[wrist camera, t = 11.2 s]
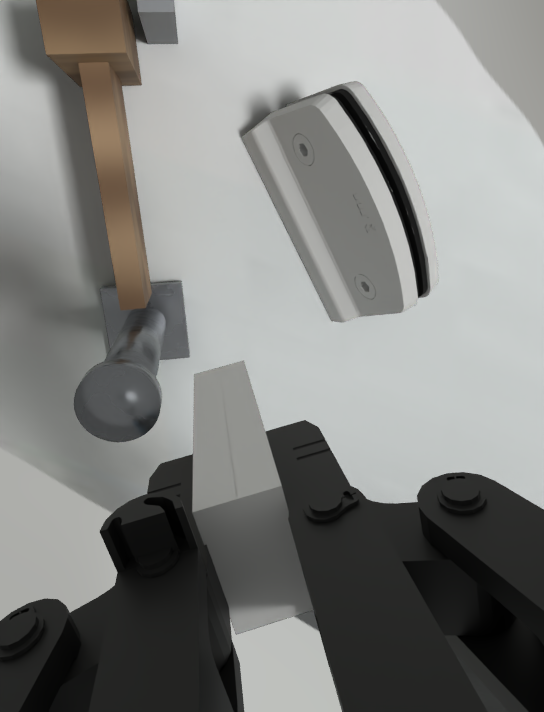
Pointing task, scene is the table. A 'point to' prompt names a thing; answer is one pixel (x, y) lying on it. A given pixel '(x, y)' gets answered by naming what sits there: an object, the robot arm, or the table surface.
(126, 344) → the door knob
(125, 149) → the wooden mallet
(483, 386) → the table surface
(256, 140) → the grey arched slab
